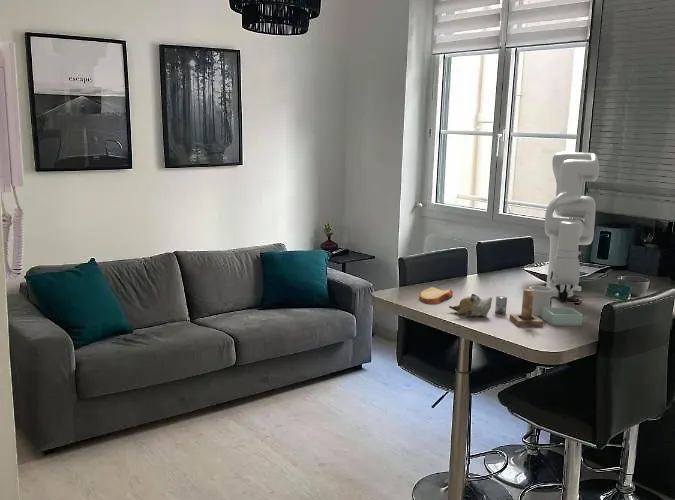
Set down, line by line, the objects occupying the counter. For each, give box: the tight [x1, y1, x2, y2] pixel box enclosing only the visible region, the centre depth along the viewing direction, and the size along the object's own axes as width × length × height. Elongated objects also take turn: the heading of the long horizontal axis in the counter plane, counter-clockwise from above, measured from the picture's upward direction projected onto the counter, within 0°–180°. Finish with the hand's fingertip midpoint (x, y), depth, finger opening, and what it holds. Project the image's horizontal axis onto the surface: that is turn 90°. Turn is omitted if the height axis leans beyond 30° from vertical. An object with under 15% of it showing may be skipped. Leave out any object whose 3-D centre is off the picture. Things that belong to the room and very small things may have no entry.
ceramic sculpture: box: [448, 293, 493, 318], centre depth 243 cm, size 11×9×15 cm
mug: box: [528, 285, 554, 318], centre depth 250 cm, size 12×9×10 cm
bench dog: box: [494, 295, 508, 315], centre depth 248 cm, size 4×4×6 cm
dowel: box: [520, 288, 534, 320], centre depth 235 cm, size 4×4×12 cm
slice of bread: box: [418, 286, 454, 305], centre depth 268 cm, size 18×18×4 cm
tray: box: [540, 306, 584, 327], centre depth 239 cm, size 11×10×4 cm
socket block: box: [509, 313, 544, 328], centre depth 236 cm, size 9×9×2 cm
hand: (562, 301), depth 250 cm, fingers closed
